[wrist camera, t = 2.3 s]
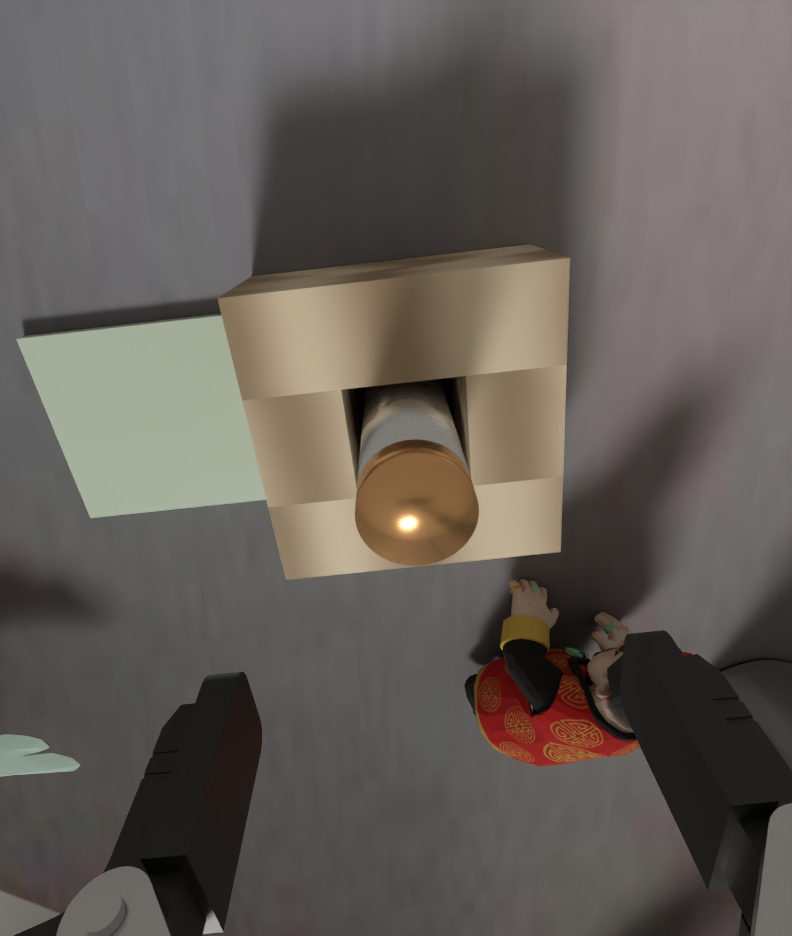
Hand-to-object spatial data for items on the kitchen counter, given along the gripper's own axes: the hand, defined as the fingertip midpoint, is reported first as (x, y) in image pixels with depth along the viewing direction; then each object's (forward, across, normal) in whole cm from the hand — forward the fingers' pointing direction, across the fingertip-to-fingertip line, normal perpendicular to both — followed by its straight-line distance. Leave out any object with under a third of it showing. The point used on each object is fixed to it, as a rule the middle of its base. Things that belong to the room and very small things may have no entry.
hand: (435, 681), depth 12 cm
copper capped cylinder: (+19, 0, 0) cm, 19 cm away
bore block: (+19, 0, 0) cm, 19 cm away
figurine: (+19, -8, +17) cm, 27 cm away
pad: (+19, +13, 0) cm, 23 cm away
